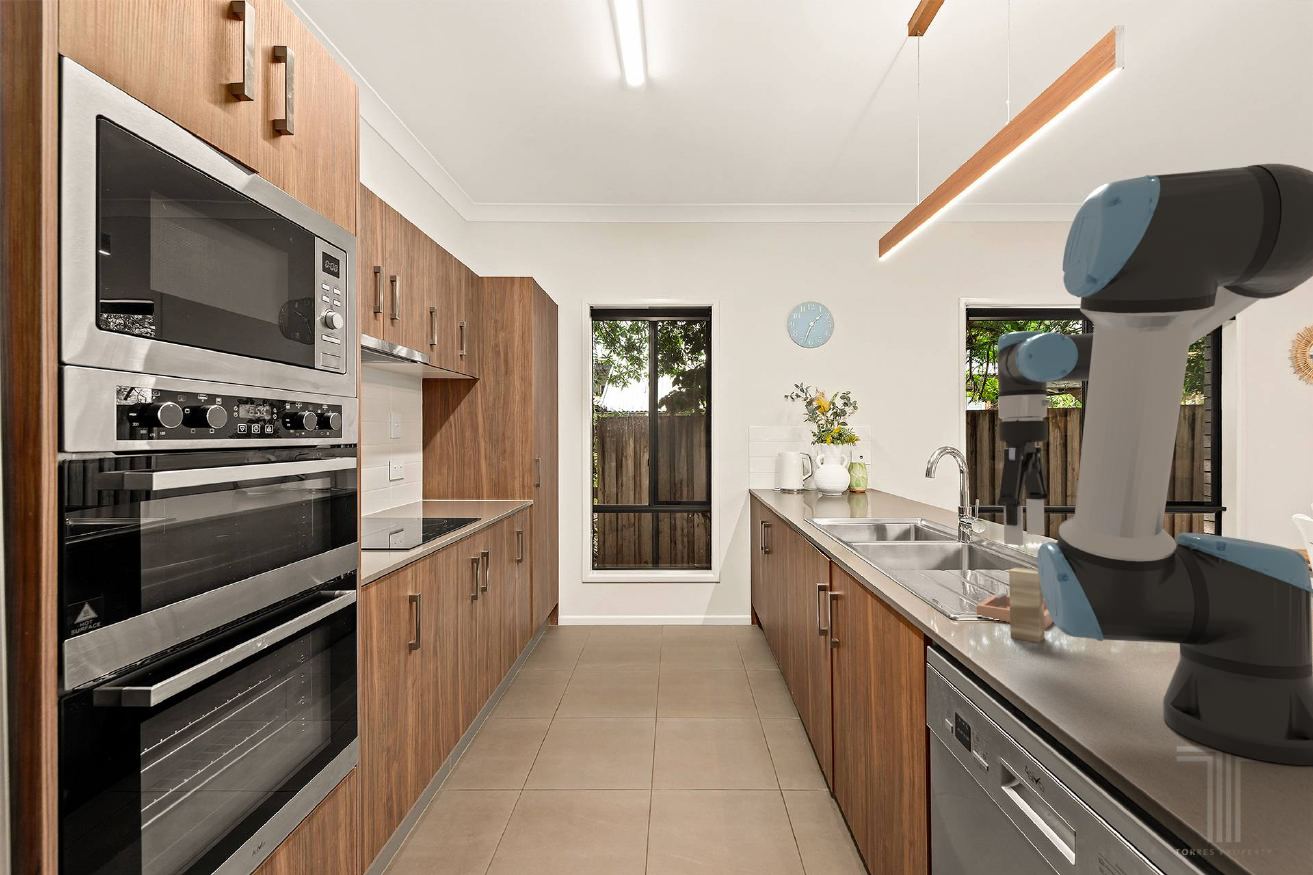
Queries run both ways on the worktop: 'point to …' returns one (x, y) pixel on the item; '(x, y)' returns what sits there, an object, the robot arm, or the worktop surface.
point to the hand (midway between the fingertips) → (1025, 539)
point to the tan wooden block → (1026, 605)
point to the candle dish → (1004, 609)
